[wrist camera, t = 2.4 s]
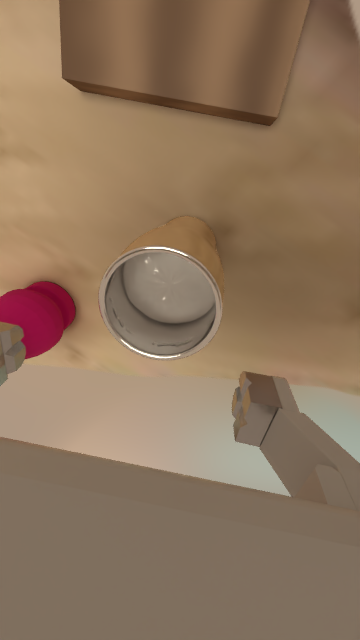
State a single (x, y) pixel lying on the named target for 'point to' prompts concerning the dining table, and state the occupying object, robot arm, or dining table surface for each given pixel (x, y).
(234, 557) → the robot arm
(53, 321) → the pepper mill
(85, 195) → the dining table surface
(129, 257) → the beer glass
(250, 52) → the walnut base
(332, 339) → the dining table surface
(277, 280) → the dining table surface
